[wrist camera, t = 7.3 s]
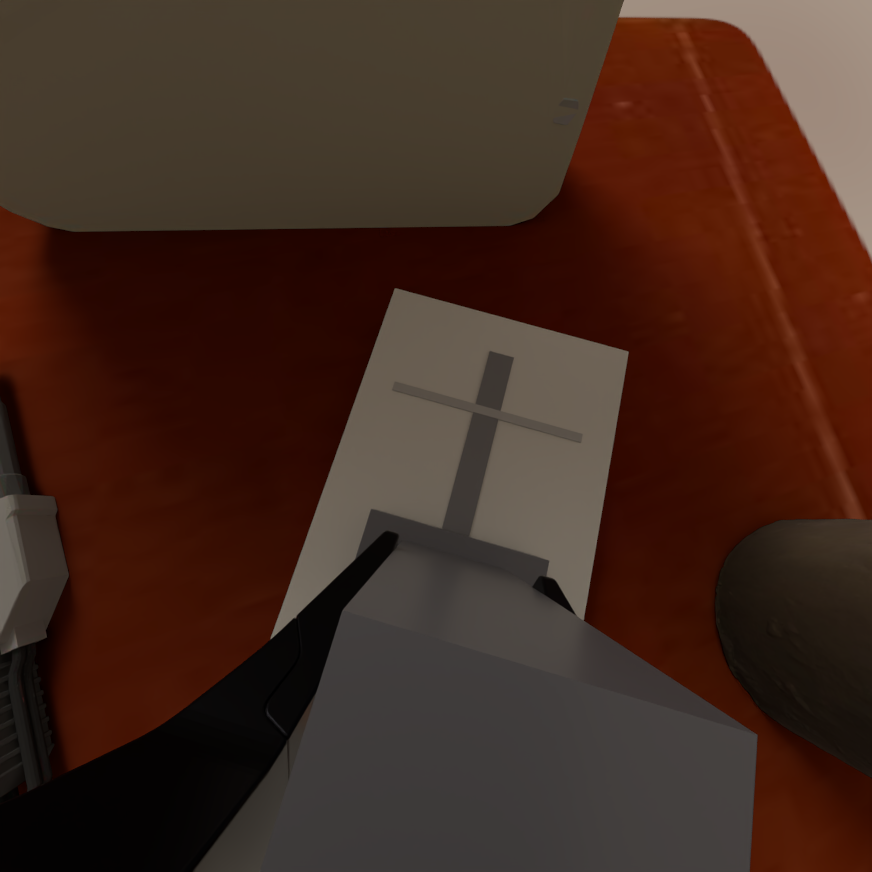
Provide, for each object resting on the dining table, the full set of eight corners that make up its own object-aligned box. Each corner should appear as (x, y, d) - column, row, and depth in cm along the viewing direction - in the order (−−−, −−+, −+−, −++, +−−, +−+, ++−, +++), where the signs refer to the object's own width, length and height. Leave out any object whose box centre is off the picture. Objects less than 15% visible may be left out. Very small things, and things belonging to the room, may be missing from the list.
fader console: (497, 978, 13) (511, 1065, 11) (200, 880, 14) (159, 947, 12) (607, 368, 19) (630, 350, 17) (397, 310, 19) (394, 285, 17)
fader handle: (515, 659, 14) (940, 1324, 2) (345, 608, 14) (9, 1003, 3) (536, 556, 15) (918, 692, 3) (376, 509, 15) (225, 489, 4)
